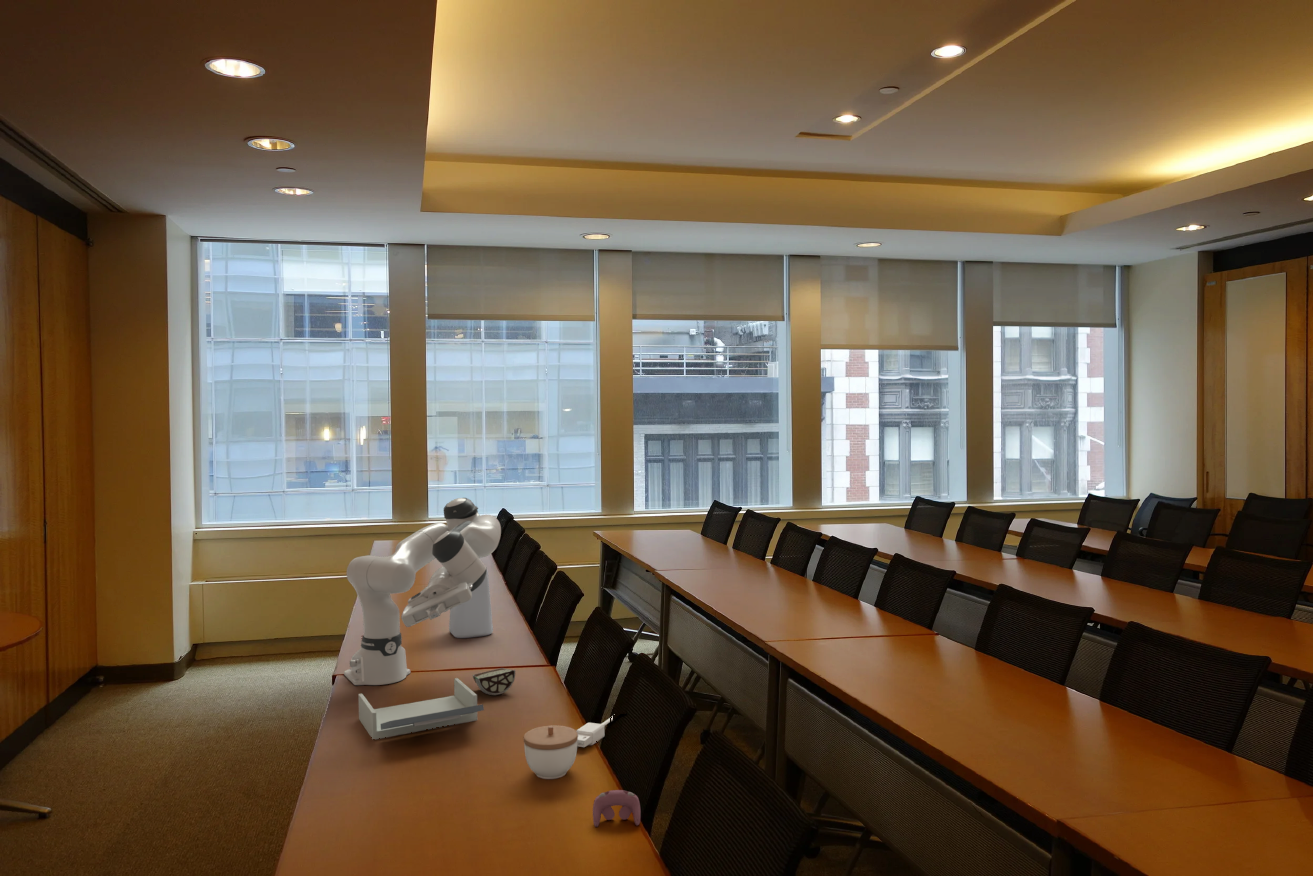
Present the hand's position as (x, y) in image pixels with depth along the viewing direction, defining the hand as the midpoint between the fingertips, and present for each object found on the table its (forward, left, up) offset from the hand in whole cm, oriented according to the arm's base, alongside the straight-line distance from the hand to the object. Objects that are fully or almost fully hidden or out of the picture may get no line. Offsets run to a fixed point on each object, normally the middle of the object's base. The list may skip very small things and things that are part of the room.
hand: (433, 615), depth 242 cm
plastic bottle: (-77, +59, -29) cm, 101 cm away
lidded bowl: (+50, +2, -29) cm, 59 cm away
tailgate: (+5, -5, -27) cm, 28 cm away
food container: (-15, +27, -27) cm, 41 cm away
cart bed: (-5, -3, -29) cm, 30 cm away
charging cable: (+37, +29, -30) cm, 56 cm away
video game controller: (+80, -3, -30) cm, 85 cm away
